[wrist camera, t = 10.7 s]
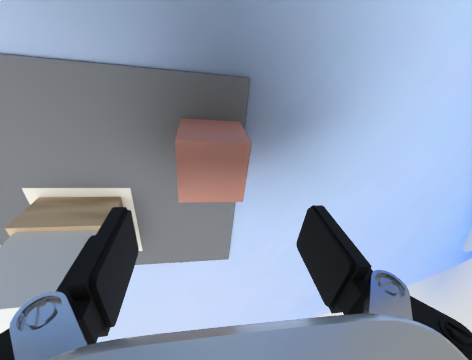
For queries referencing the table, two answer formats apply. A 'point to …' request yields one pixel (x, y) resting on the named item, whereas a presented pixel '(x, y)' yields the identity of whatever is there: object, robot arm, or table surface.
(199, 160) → the red cube
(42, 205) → the oak base
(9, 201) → the grey mat
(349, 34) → the table surface
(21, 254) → the grey cube
